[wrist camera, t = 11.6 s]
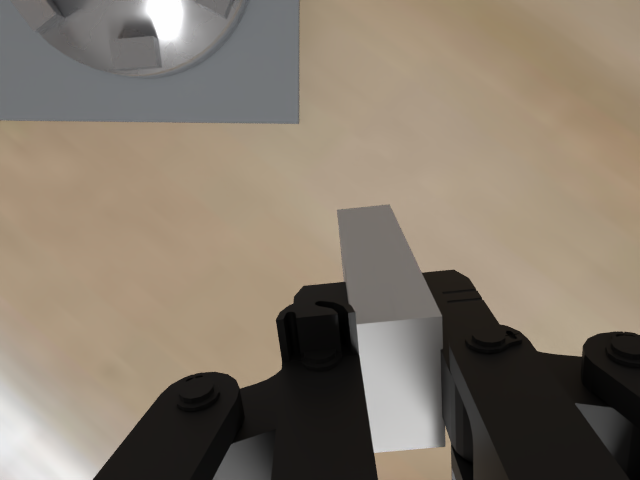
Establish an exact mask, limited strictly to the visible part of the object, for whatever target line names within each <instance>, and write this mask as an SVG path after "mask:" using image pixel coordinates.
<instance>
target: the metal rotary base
mask: <svg viewBox="0 0 640 480" xmlns="http://www.w3.org/2000/svg"><path fill="white" fill-rule="evenodd" d="M10 1H11V2H12V3H13V5H14V6H15V7H16V9H17V10H18V11H19V13H20V14H21V15H22V17H23V18H24V19H25V20H26V22H27V23H28V24H29V26H30V27H31V28H32V30H33V31H34V32H37V33H39V34H40V35H41V36H42V37H43V38H44V39H45V40H46V41H47V42H48V43H49V44H51V45H52V46H53V47H55V48H56V49H57V50H59V51H60V52H62V53H63V54H65V55H66V56H68V57H70V58H72V59H74V60H75V61H77V62H79V63H82V64H84V65H87V66H89V67H92V68H94V69H98V70H101V71H105V72H109V73H112V74H116V75H120V76H124V77H130V78H139V79H155V78H162V77H168V76H172V75H176V74H179V73H182V72H185V71H187V70H189V69H191V68H194V67H196V66H198V65H199V64H201V63H202V62H204V61H205V60H207V59H209V58H210V57H211V56H212V55H213V54H214V53H216V52H217V51H218V50H219V49H220V48H221V47H222V46H223V45H224V44H225V43H226V41H227V40H228V39H229V38H230V37H231V35H232V34H233V32H234V31H235V29H236V28H237V26H238V25H239V23H240V21H241V19H242V17H243V15H244V13H245V11H246V8H247V5H248V2H249V0H10Z"/></svg>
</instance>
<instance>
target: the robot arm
mask: <svg viewBox="0 0 640 480" xmlns="http://www.w3.org/2000/svg"><path fill="white" fill-rule="evenodd" d="M337 215H338V225H339V236H340V246H341V257H342V267H343V277H344V282H339V283H329V284H319V285H308V286H303V287H302V288H301V289H300V291H299V292H298V293H297V294H296V295H295V296H294V304H292V305H289V306H288V307H286V308H285V309H284V310H282V311H281V312H280V313H279V315H278V317H277V319H276V323H277V330H278V337H279V343H280V350H281V357H282V370H280V371H279V372H278V373H277V374H276V375H274V376H272V377H271V378H269V379H267V380H265V381H262V382H260V383H257V384H254V385H251V386H248V387H244V388H241V389H240V388H239V386H238V383H237V381H236V380H235V379H234V378H232V377H231V376H229V375H228V374H223V373H218V372H206V373H197V374H195V375H190V376H187V377H185V378H183V379H181V380H179V381H177V382H175V383H173V384H171V385H170V386H169V387H168V388H167V389H166V390H165V391H164V392H163V393H161V395H160V396H159V397H158V398H157V400H156V401H155V402H154V403H153V405H152V406H151V407H150V408H149V410H148V411H147V412H146V413H145V415H144V416H143V417H142V418H141V420H140V421H139V422H138V423H137V425H136V426H135V427H134V428H133V430H132V431H131V432H130V433H129V435H128V436H127V437H126V438H125V440H124V441H123V442H122V443H121V445H120V446H119V447H118V449H117V450H116V451H115V452H114V454H113V455H112V456H111V457H110V459H109V460H108V461H107V462H106V464H105V465H104V466H103V467H102V469H101V470H100V471H99V472H98V474H97V475H96V476H95V477H94V479H93V480H378V477H377V470H376V464H375V457H374V453H378V452H389V451H400V450H411V449H423V448H434V447H445V426H446V429H447V432H448V435H449V438H450V441H451V465H452V480H640V335H637V334H635V333H631V332H625V333H623V332H609V333H600V334H597V335H595V336H592V337H590V338H588V339H587V341H586V342H585V343H584V345H583V352H582V357H578V356H567V355H556V354H549V353H543V352H538V351H536V349H535V348H534V346H533V345H532V344H531V342H530V341H529V340H528V338H527V337H525V336H524V335H523V334H522V333H521V332H520V331H518V330H515V329H513V328H511V327H508V326H505V325H500V324H499V323H498V321H497V320H496V318H495V317H494V315H493V314H492V312H491V311H490V309H489V308H488V306H487V305H486V303H485V302H484V300H482V297H481V296H480V294H479V293H478V291H476V288H475V287H474V285H473V284H472V282H471V281H470V279H469V278H468V277H466V276H464V275H462V274H461V273H459V272H457V271H455V270H445V271H435V272H425V273H422V272H421V270H420V268H419V266H418V264H417V262H416V260H415V258H414V255H413V253H412V251H411V249H410V247H409V245H408V243H407V241H406V239H405V236H404V234H403V232H402V230H401V228H400V226H399V224H398V222H397V219H396V217H395V215H394V213H393V211H392V209H391V207H390V205H380V206H370V207H361V208H351V209H341V210H337Z"/></svg>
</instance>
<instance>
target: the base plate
mask: <svg viewBox="0 0 640 480" xmlns="http://www.w3.org/2000/svg"><path fill="white" fill-rule="evenodd" d="M0 120H16V121H103V122H190V123H278V124H299V0H249V2H248V5H247V8H246V11H245V13H244V15H243V17H242V19H241V21H240V23H239V25H238V26H237V28H236V29H235V31H234V32H233V34H232V35H231V37H230V38H229V39H228V40H227V41H226V43H225V44H224V45H223V46H222V47H221V48H220V49H219V50H218V51H217V52H216V53H214V54H213V55H212V56H211V57H210V58H209V59H207V60H205V61H204V62H202V63H201V64H199V65H198V66H196V67H194V68H191V69H189V70H187V71H185V72H182V73H179V74H176V75H172V76H168V77H162V78H155V79H139V78H130V77H124V76H120V75H116V74H112V73H109V72H105V71H101V70H98V69H94V68H92V67H89V66H87V65H84V64H82V63H79V62H77V61H75V60H74V59H72V58H70V57H68V56H66V55H65V54H63V53H62V52H60V51H59V50H57V49H56V48H55V47H53V46H52V45H51V44H49V43H48V42H47V41H46V40H45V39H44V38H43V37H42V36H41V35H40V34H39V33H37V32H34V31H33V30H32V28H31V27H30V26H29V24H28V23H27V22H26V20H25V19H24V18H23V17H22V15H21V14H20V13H19V11H18V10H17V9H16V7H15V6H14V5H13V3H12V2H11V1H10V0H0Z"/></svg>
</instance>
